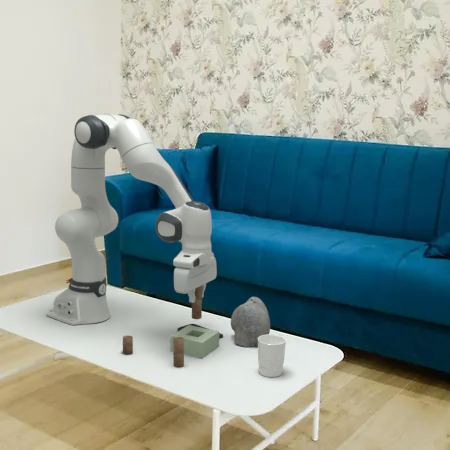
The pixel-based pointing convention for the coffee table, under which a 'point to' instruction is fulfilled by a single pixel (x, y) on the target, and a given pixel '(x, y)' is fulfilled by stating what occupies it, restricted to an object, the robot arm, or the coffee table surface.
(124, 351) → the pin short
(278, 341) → the white cup
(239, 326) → the decorative stone
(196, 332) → the socket block
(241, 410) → the coffee table surface
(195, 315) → the pin long
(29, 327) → the coffee table surface
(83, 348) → the coffee table surface
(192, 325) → the phone
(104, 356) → the coffee table surface
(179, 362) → the pin medium
